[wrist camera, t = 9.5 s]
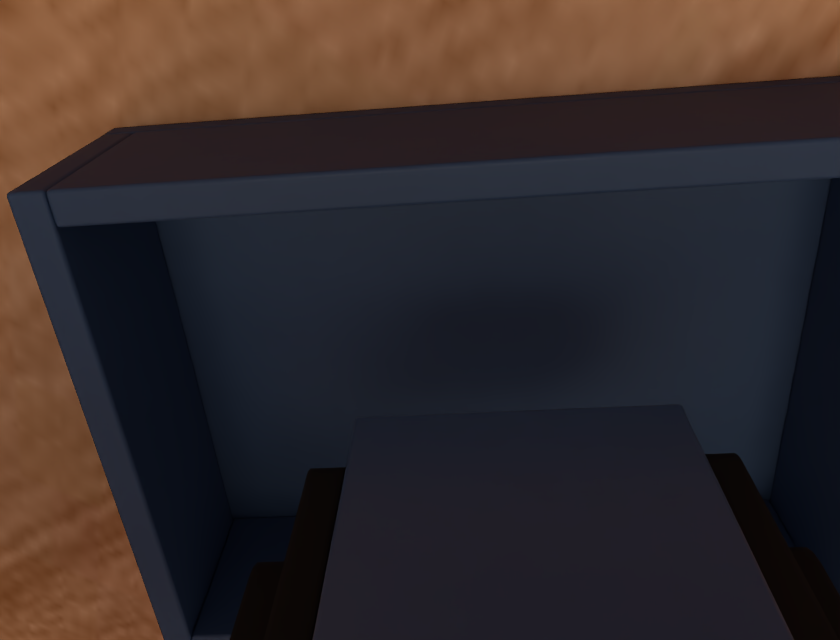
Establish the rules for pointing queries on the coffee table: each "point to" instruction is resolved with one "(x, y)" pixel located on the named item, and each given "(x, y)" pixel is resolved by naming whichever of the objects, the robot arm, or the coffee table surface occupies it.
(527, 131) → the blue bin
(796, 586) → the robot arm
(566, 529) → the blue block
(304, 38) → the coffee table surface
